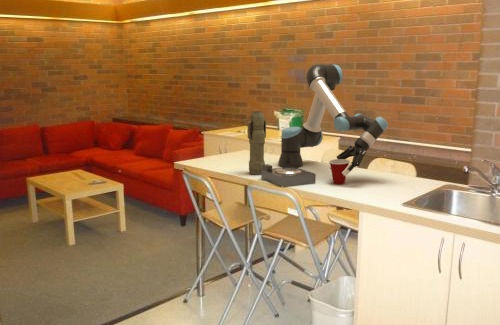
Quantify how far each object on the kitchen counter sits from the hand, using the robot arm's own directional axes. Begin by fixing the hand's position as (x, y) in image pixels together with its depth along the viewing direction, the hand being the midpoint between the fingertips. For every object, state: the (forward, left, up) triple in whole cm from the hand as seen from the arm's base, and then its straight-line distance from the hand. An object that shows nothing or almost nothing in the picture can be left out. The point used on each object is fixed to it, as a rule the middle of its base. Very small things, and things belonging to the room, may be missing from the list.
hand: (337, 172), depth 251 cm
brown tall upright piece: (-40, -26, -6) cm, 48 cm away
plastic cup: (0, +1, -6) cm, 6 cm away
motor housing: (-16, -20, -6) cm, 26 cm away
